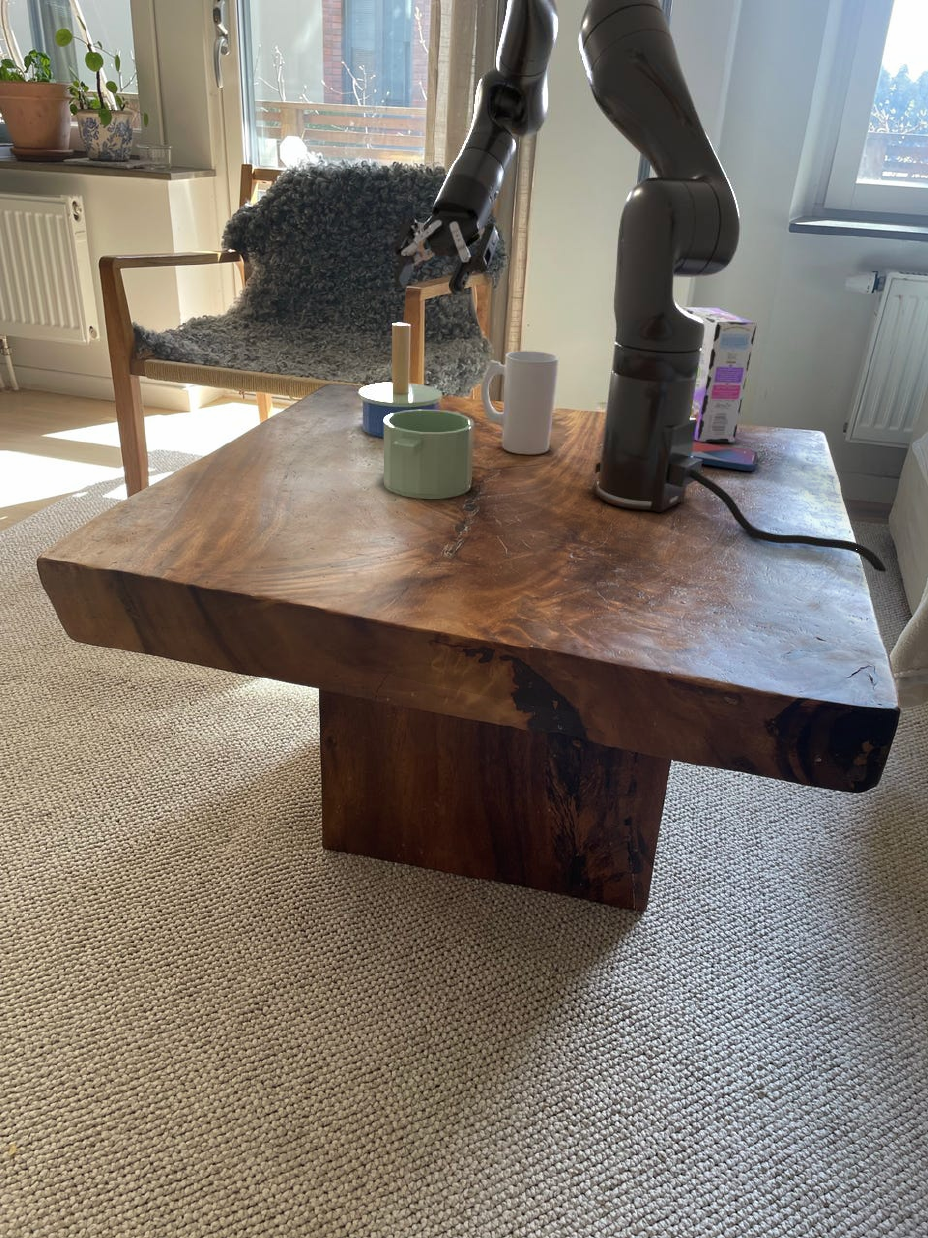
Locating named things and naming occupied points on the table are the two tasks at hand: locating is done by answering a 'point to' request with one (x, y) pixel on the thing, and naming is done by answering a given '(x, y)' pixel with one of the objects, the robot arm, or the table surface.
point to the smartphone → (725, 456)
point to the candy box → (721, 373)
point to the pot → (428, 453)
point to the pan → (377, 413)
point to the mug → (524, 400)
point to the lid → (400, 378)
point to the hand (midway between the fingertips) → (425, 287)
